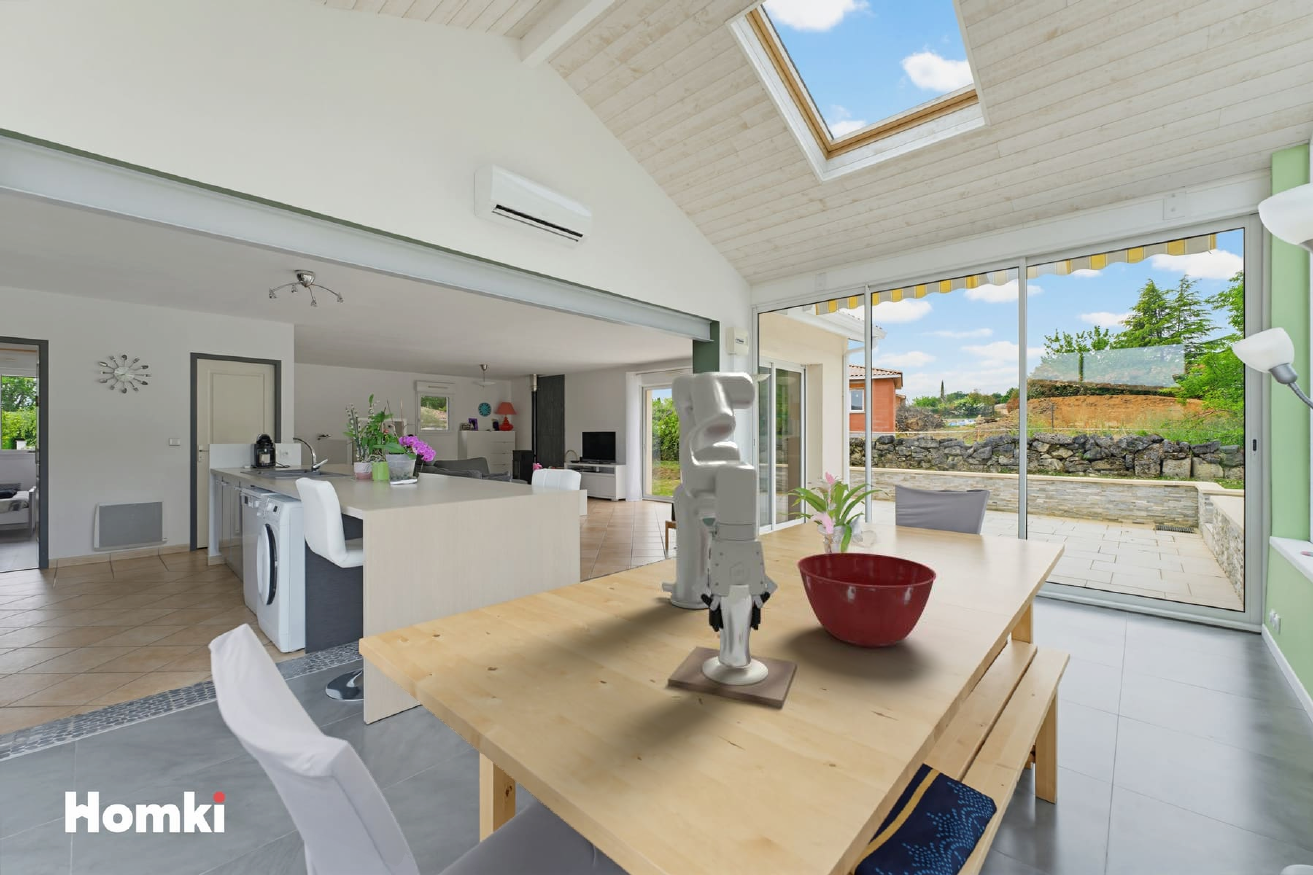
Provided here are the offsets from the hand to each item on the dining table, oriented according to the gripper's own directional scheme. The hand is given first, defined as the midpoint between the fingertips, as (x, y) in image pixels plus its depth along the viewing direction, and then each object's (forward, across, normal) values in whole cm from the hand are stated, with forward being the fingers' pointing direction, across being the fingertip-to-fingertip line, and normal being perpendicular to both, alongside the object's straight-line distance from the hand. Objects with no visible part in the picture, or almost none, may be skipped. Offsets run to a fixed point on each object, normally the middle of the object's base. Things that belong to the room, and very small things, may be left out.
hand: (734, 627), depth 101 cm
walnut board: (+9, 0, 0) cm, 9 cm away
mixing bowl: (+9, +34, +16) cm, 39 cm away
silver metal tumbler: (+6, 0, 0) cm, 6 cm away
